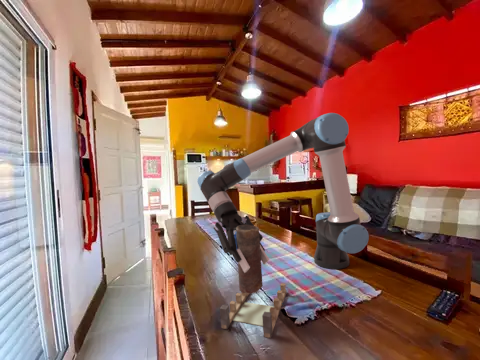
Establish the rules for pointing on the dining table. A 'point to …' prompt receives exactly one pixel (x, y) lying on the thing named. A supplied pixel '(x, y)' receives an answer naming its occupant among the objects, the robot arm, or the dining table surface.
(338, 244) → the robot arm
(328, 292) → the dining table surface
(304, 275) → the dining table surface
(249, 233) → the brown tall cylinder
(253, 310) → the comb lane
